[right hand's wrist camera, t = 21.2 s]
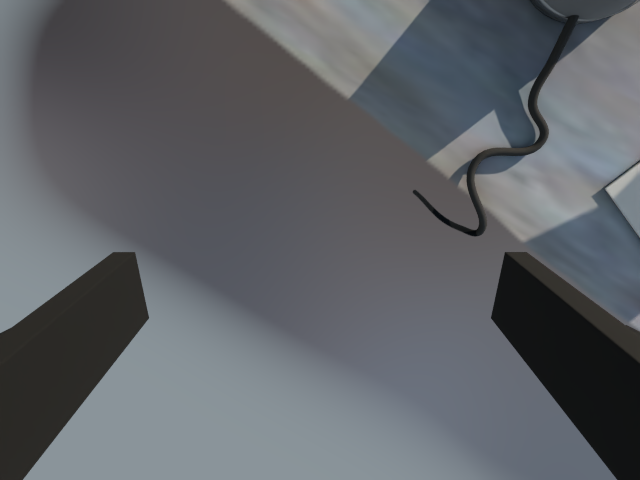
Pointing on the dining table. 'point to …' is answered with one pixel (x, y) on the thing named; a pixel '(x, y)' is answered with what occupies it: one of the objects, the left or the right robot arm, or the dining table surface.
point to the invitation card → (628, 196)
